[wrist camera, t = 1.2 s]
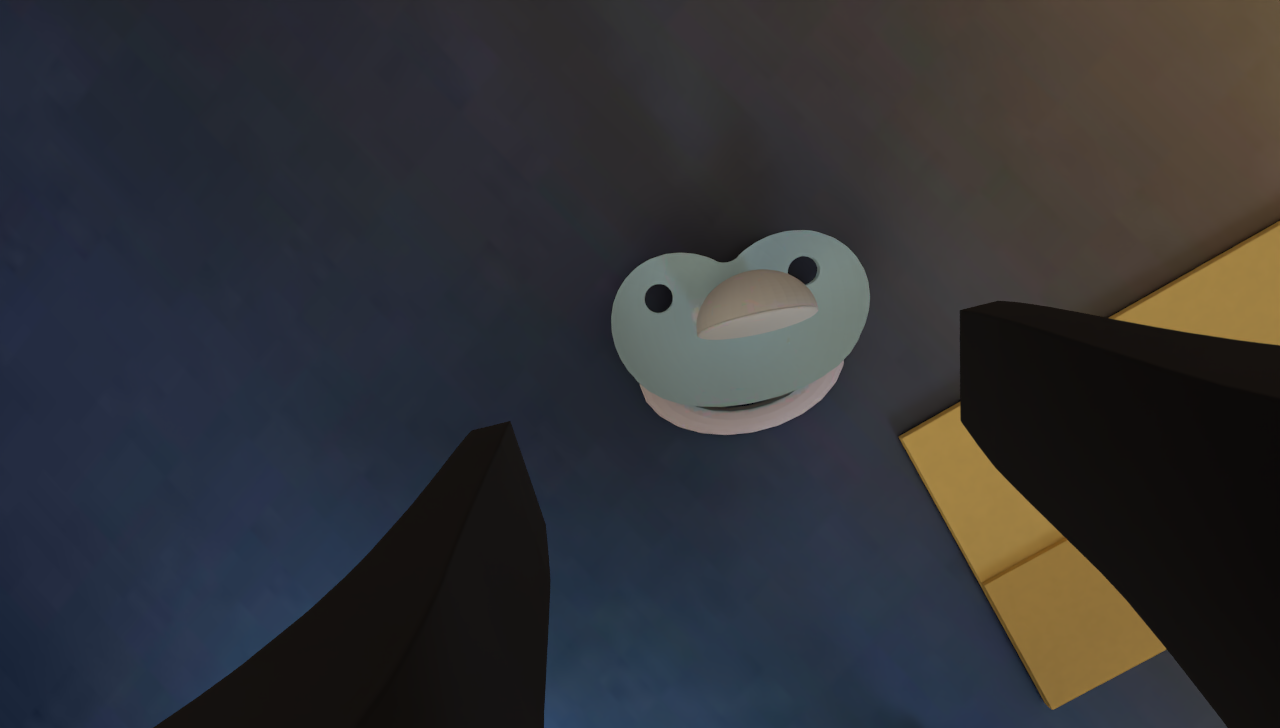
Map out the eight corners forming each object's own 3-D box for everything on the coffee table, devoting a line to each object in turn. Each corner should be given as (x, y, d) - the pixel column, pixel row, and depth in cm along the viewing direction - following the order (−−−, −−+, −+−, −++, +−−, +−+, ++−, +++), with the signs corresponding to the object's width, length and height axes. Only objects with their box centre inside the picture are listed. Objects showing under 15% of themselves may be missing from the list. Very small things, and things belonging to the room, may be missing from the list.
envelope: (1045, 703, 24) (1053, 712, 23) (897, 436, 23) (903, 439, 22) (1477, 473, 23) (1496, 477, 23) (1353, 178, 22) (1369, 177, 21)
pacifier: (860, 405, 23) (834, 219, 21) (949, 467, 16) (918, 211, 15) (638, 448, 23) (601, 265, 22) (642, 525, 16) (592, 275, 15)
